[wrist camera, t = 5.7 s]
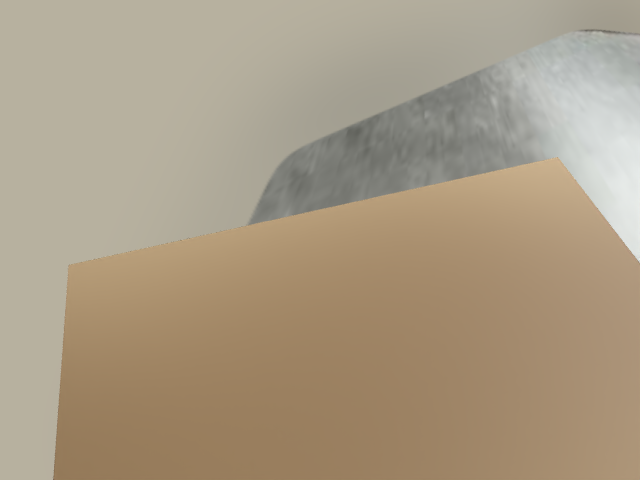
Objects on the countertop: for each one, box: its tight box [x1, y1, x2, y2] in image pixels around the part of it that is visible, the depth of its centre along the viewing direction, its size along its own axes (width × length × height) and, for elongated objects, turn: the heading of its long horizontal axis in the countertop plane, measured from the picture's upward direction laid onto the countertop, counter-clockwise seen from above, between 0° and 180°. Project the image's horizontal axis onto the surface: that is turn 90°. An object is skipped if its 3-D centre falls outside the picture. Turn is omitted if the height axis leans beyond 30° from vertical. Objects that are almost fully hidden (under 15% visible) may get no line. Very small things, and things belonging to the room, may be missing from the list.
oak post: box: [53, 157, 640, 480], centre depth 8 cm, size 4×4×12 cm
